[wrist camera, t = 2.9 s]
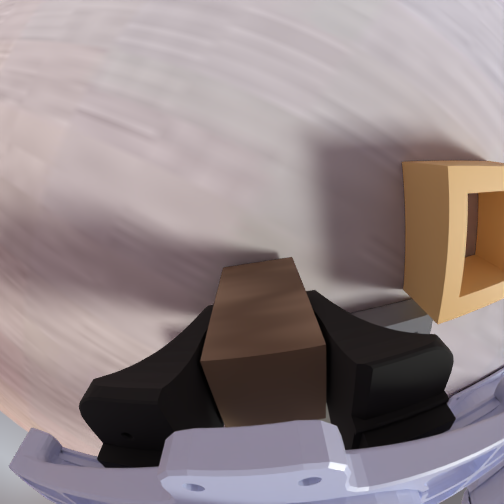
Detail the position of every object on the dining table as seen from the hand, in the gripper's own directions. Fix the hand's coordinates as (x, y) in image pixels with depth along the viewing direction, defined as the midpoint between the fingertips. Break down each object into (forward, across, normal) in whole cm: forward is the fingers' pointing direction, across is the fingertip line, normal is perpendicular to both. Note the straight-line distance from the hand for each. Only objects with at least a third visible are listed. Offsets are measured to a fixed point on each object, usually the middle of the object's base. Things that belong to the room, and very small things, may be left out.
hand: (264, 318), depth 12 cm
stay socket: (+3, -12, -2) cm, 13 cm away
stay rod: (+2, 0, 0) cm, 2 cm away
